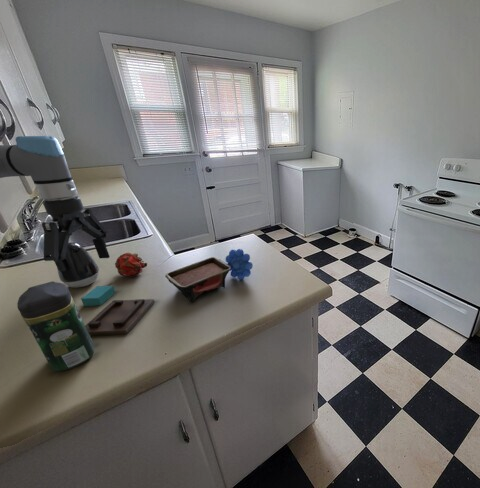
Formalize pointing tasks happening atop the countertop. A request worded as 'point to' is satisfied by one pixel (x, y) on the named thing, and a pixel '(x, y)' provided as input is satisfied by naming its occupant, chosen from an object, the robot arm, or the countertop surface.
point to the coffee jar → (56, 325)
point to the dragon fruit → (129, 264)
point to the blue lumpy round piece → (239, 263)
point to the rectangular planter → (199, 277)
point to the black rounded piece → (80, 266)
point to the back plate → (118, 317)
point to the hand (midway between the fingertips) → (89, 267)
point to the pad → (98, 295)
